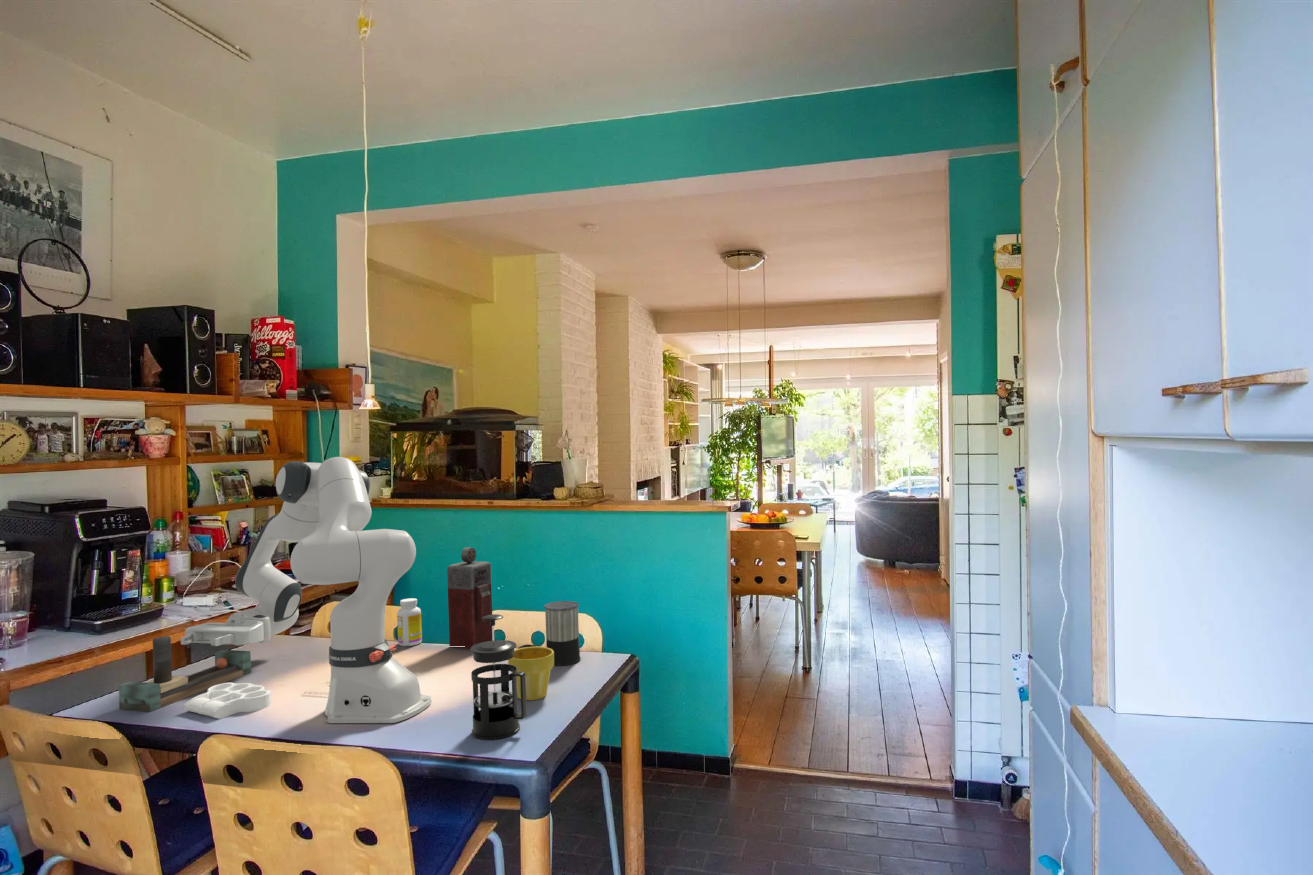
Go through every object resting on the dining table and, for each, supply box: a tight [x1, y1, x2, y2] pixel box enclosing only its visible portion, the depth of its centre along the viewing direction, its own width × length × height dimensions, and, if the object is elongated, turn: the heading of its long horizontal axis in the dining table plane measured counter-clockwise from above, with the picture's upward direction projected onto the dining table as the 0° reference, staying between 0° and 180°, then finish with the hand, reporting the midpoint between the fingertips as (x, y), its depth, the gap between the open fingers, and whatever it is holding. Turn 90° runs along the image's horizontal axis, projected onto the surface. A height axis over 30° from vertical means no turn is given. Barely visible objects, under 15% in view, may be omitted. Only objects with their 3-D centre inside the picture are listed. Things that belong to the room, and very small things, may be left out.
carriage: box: [145, 635, 188, 693], centre depth 170 cm, size 7×7×12 cm
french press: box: [470, 613, 528, 741], centre depth 145 cm, size 12×9×23 cm
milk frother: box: [517, 600, 582, 666], centre depth 190 cm, size 14×16×15 cm
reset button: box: [216, 657, 228, 669], centre depth 186 cm, size 3×1×3 cm, turn 75°
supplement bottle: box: [396, 597, 423, 647], centre depth 212 cm, size 7×7×13 cm
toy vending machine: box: [446, 546, 493, 651], centre depth 208 cm, size 9×11×28 cm
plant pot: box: [507, 646, 555, 701], centre depth 164 cm, size 10×10×10 cm
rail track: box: [118, 649, 252, 713], centre depth 177 cm, size 9×28×6 cm, turn 165°
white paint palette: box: [183, 682, 272, 720], centre depth 164 cm, size 3×18×15 cm
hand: (197, 642), depth 179 cm, fingers open, 8 cm apart
